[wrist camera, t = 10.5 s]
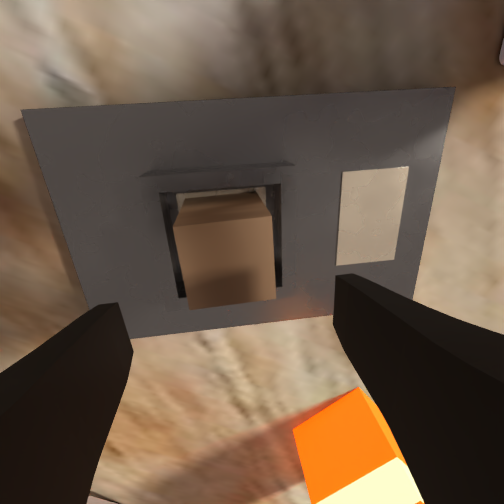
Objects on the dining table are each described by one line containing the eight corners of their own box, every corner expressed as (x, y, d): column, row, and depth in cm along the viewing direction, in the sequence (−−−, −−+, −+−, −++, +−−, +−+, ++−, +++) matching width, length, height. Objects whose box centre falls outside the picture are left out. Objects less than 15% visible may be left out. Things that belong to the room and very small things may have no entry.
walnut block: (256, 190, 16) (271, 215, 12) (260, 255, 18) (276, 298, 13) (184, 198, 16) (172, 227, 11) (196, 262, 18) (189, 310, 13)
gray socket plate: (439, 89, 16) (488, 81, 13) (401, 296, 22) (429, 322, 19) (35, 111, 15) (-10, 107, 12) (107, 330, 20) (88, 365, 17)
